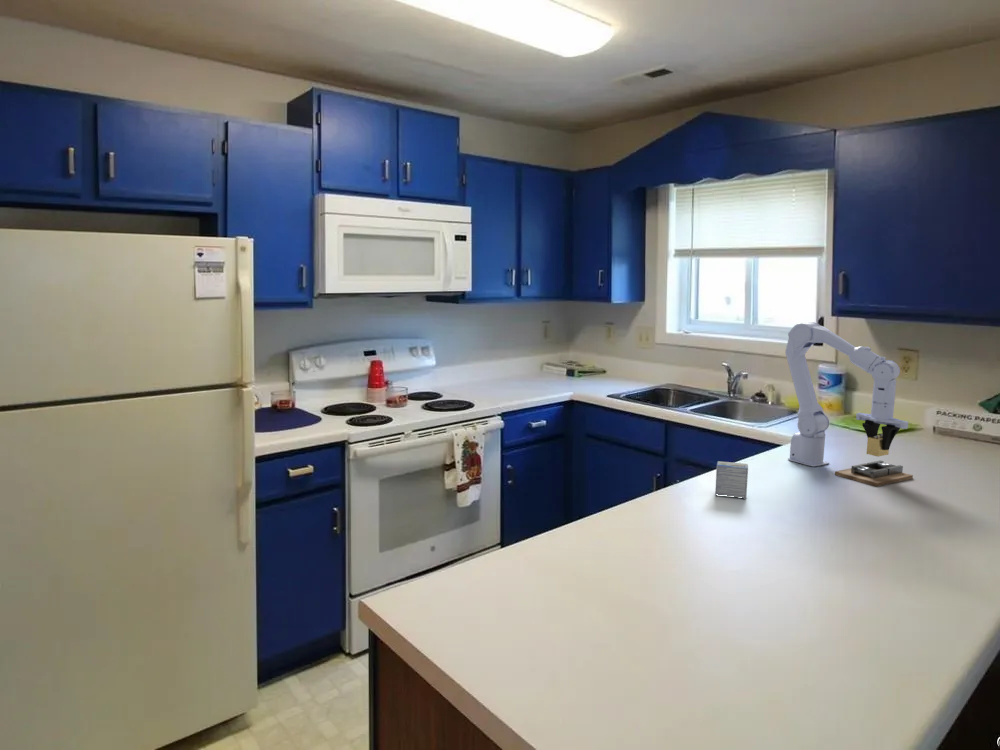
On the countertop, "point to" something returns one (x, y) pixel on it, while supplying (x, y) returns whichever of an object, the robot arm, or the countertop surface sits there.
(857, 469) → the chain end
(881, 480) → the chain board
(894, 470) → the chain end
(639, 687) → the countertop surface
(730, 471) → the medicine box
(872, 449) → the brass block with studs
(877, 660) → the countertop surface
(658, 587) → the countertop surface
